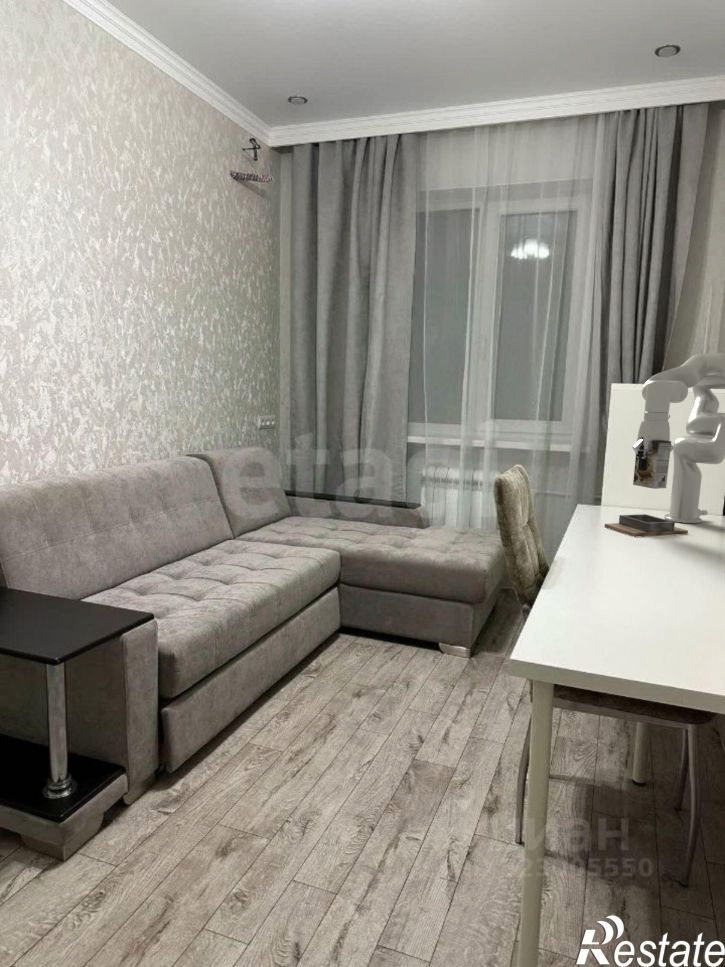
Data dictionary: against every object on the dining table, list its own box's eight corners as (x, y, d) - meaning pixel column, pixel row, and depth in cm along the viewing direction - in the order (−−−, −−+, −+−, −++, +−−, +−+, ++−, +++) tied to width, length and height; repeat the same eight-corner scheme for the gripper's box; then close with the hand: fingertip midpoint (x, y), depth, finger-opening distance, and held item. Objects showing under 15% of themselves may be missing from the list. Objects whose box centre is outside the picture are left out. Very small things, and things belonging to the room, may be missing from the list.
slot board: (655, 524, 236) (656, 513, 235) (687, 534, 221) (689, 521, 221) (604, 527, 229) (605, 515, 228) (634, 536, 215) (635, 524, 214)
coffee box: (632, 484, 226) (636, 438, 223) (645, 484, 228) (649, 438, 226) (653, 489, 217) (658, 440, 215) (667, 488, 220) (672, 440, 218)
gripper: (668, 417, 226) (663, 468, 228) (627, 416, 220) (622, 469, 223) (685, 418, 219) (679, 471, 221) (642, 417, 213) (637, 472, 216)
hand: (651, 469), depth 222 cm, fingers closed on coffee box, 6 cm apart
